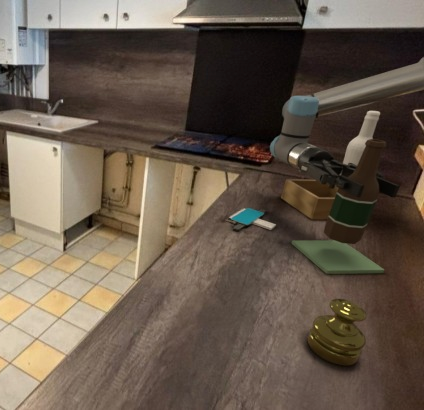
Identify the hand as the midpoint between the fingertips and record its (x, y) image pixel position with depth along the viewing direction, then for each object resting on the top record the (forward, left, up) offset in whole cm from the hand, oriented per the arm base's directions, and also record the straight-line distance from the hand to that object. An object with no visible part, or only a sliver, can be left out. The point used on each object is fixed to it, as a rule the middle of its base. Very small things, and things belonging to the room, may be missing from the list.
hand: (378, 191), depth 77 cm
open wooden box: (+35, -17, -20) cm, 44 cm away
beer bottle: (+5, 0, -14) cm, 15 cm away
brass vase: (-24, +22, -20) cm, 38 cm away
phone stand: (+25, +11, -20) cm, 34 cm away
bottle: (+46, -34, -20) cm, 61 cm away
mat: (+5, 0, -20) cm, 20 cm away
